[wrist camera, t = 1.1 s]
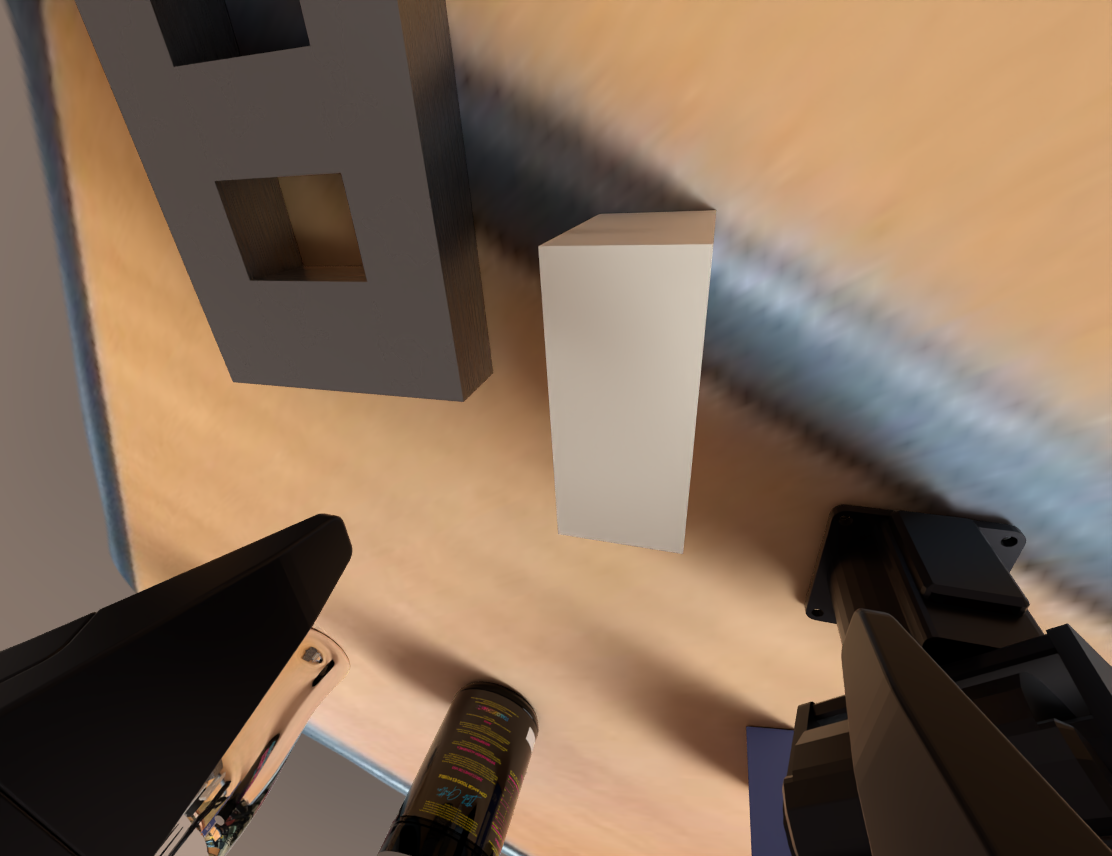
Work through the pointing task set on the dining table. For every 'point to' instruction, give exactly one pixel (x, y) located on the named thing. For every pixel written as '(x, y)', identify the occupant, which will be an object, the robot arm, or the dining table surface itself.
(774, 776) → the walkman
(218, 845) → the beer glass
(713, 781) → the dining table surface
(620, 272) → the block
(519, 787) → the supplement container
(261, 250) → the slotted plate
